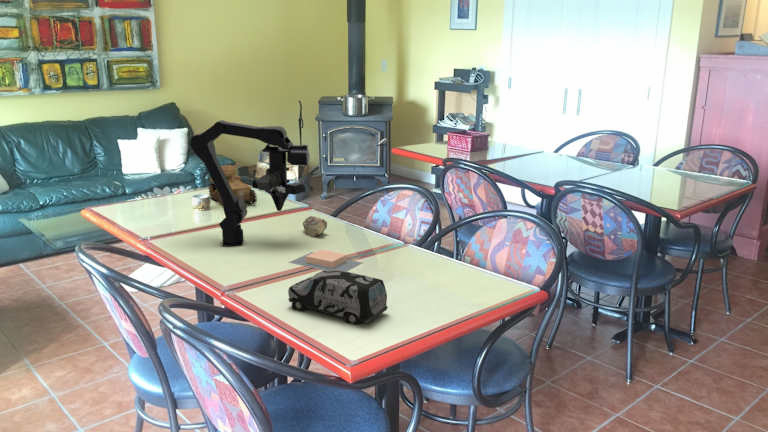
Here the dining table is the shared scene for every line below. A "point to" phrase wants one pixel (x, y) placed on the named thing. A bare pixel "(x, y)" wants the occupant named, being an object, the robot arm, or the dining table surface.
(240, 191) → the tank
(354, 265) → the mat
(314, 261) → the block
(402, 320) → the dining table surface
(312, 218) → the rock
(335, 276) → the toy car
